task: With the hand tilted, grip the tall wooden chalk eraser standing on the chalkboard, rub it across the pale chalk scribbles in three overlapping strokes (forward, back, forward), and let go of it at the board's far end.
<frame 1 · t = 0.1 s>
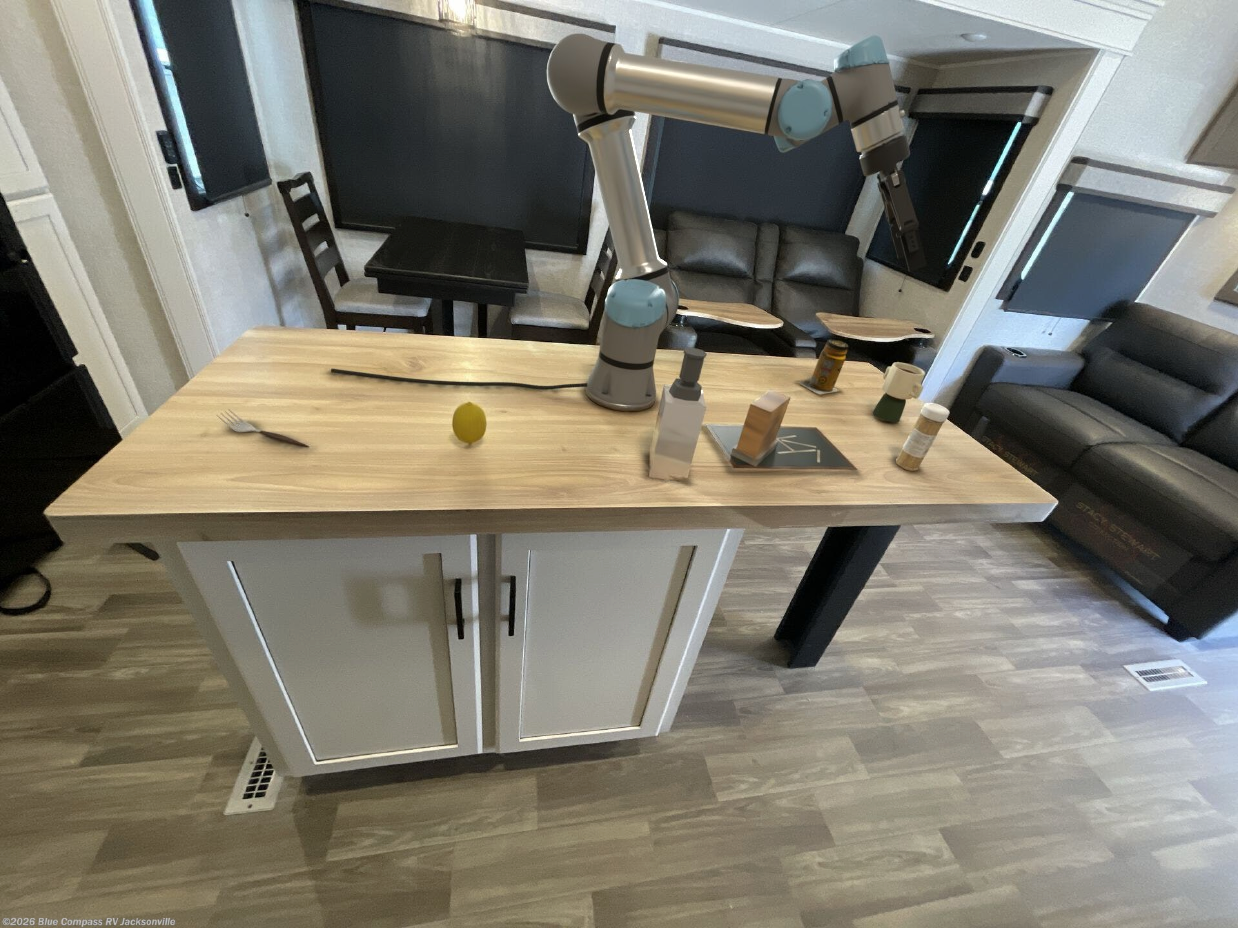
hand: (911, 262, 99), 36 cm above the table, tool tilted 35°, fingers open, 13 cm apart
chalkboard: (777, 450, 105), on the table
eraser: (753, 451, 101), point 1 cm above the table, touching chalkboard
fork: (267, 437, 84), on the table
condiment: (818, 387, 137), on the table
cream and green goblet: (884, 419, 126), on the table
soap dispenser: (666, 466, 95), on the table
lemon: (469, 444, 91), on the table
sprinkles bottle: (905, 466, 108), on the table
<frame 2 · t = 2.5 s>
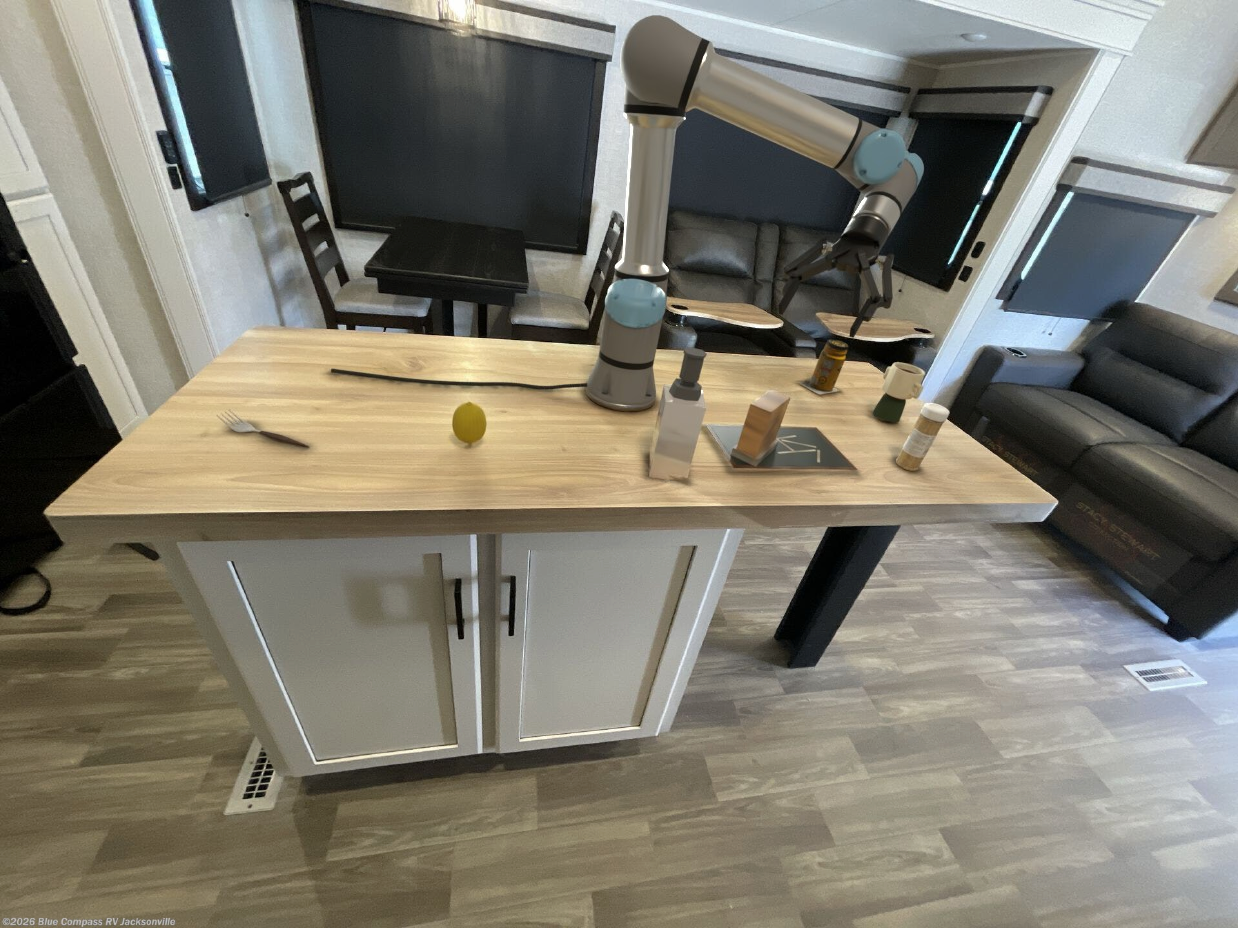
hand: (814, 321, 96), 25 cm above the table, tool tilted 45°, fingers open, 13 cm apart
nothing on the table moved.
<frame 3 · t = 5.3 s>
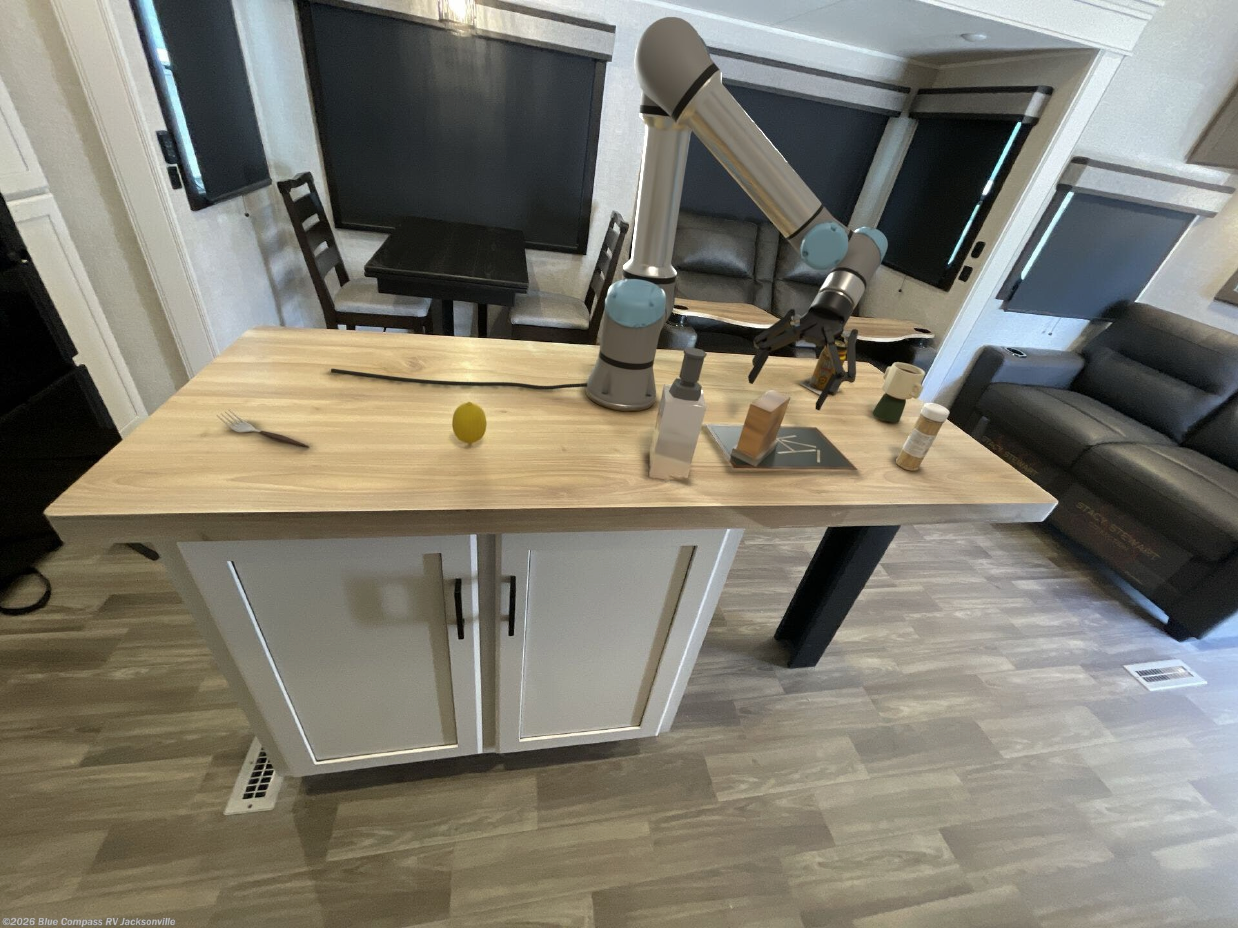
hand: (782, 393, 100), 12 cm above the table, tool tilted 45°, fingers open, 13 cm apart
nothing on the table moved.
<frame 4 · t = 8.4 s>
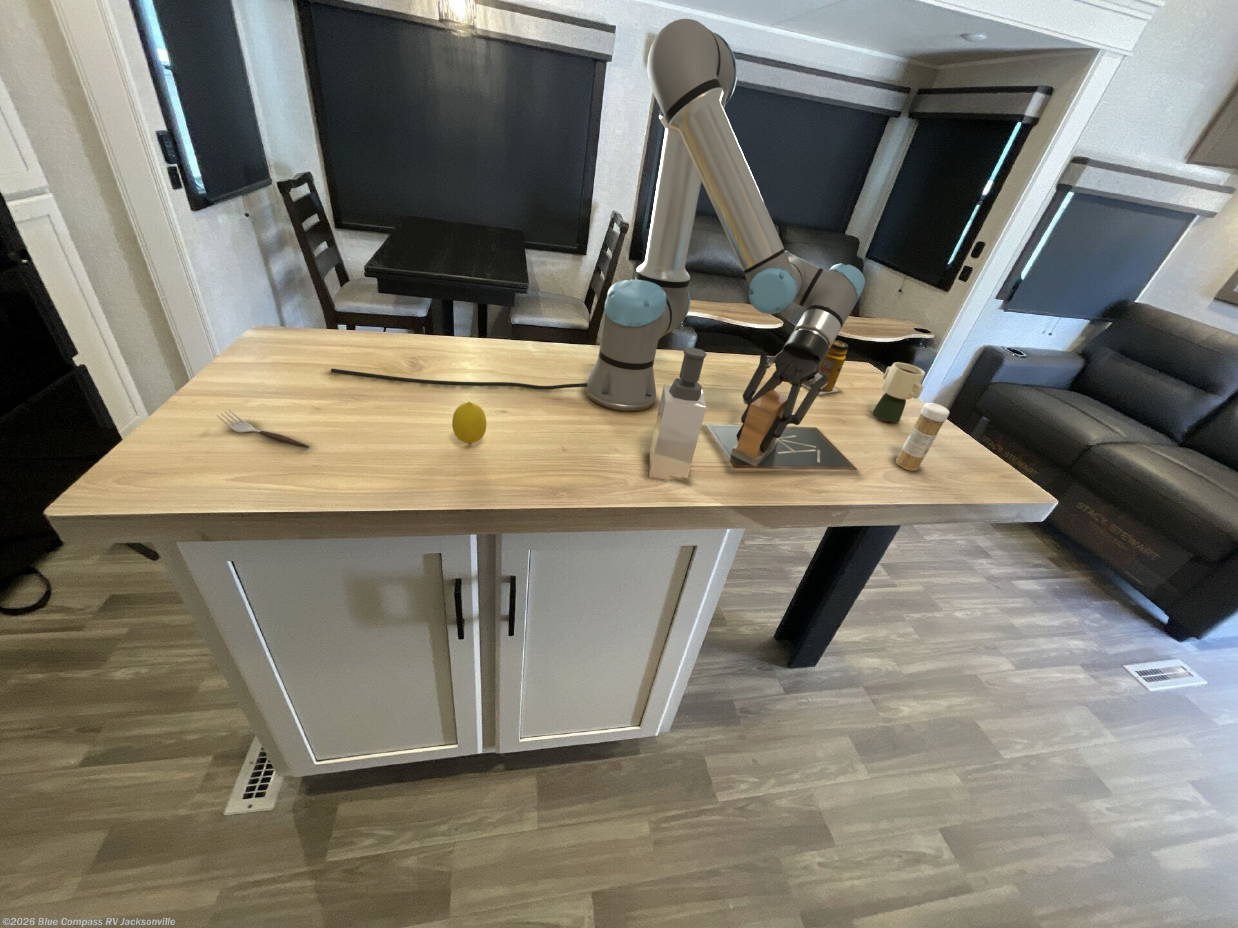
hand: (750, 444, 97), 4 cm above the table, tool tilted 45°, fingers closed on eraser, 4 cm apart
eraser: (753, 451, 101), point 1 cm above the table, touching chalkboard, gripper
everything else where it was.
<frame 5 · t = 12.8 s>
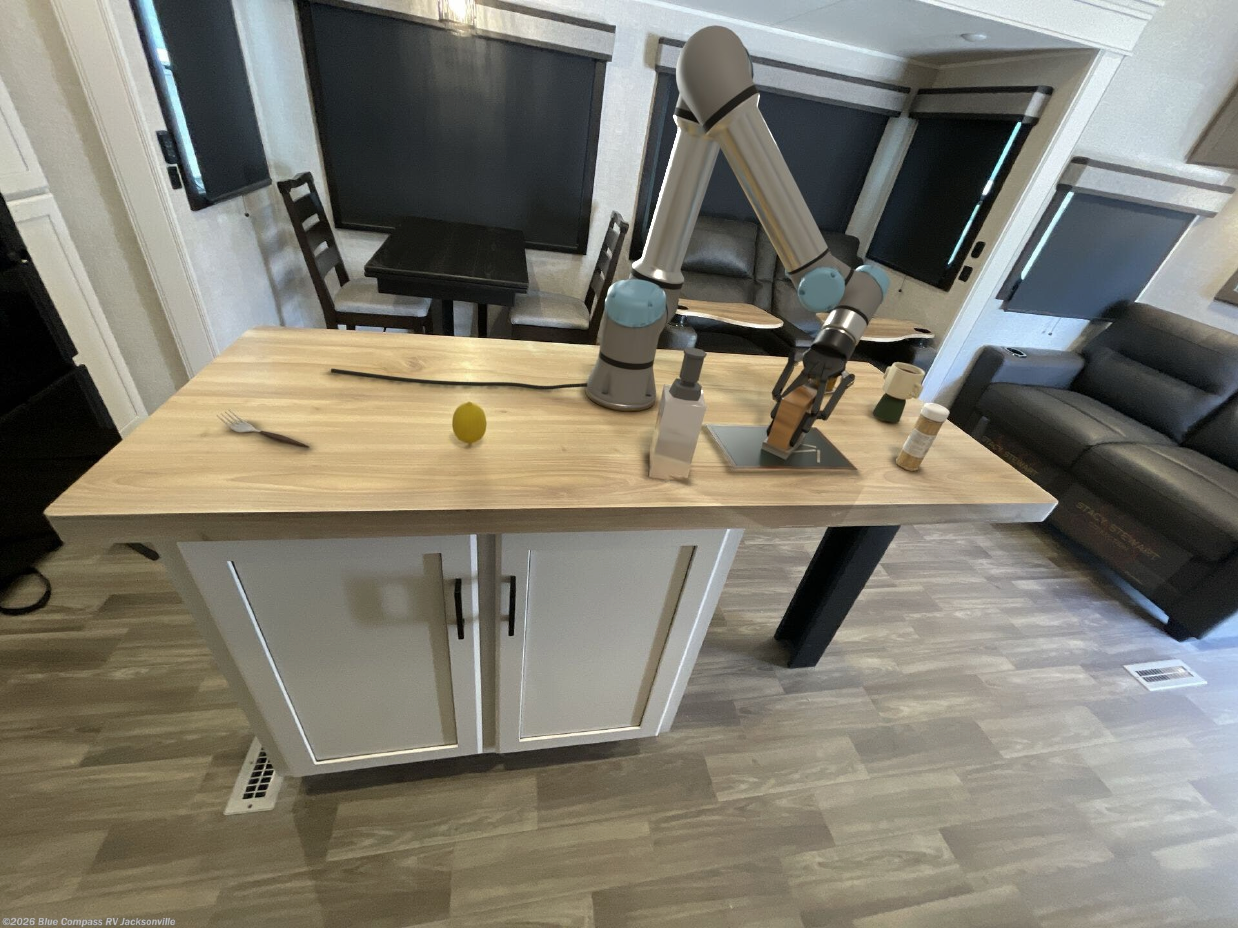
hand: (780, 438, 101), 4 cm above the table, tool tilted 45°, fingers closed on eraser, 4 cm apart
eraser: (782, 445, 105), point 1 cm above the table, touching gripper
everything else where it was.
when the fingers open (4 cm above the table, at t = 17.5 s): eraser stays where it is, resting on chalkboard.
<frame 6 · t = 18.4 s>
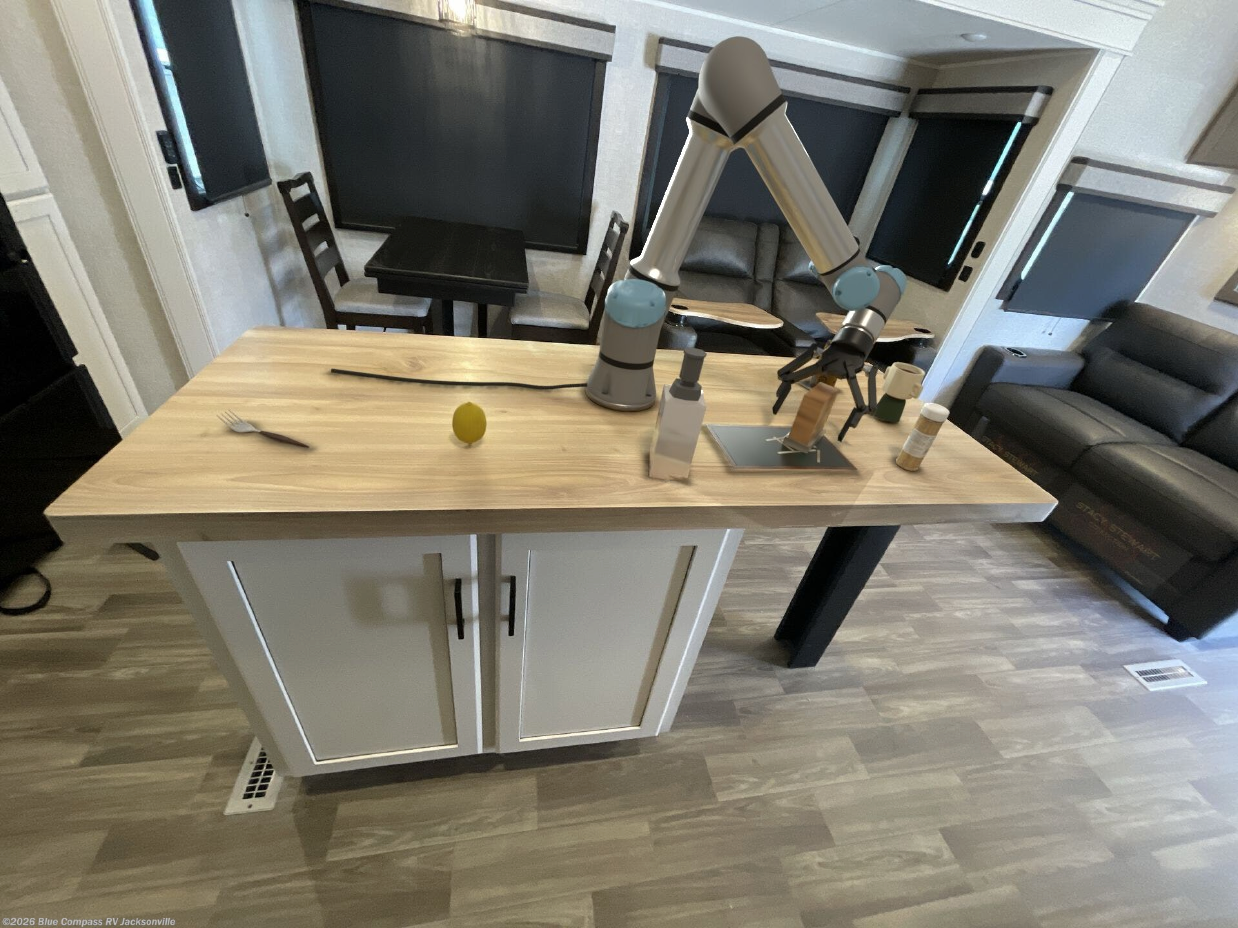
hand: (805, 425, 104), 5 cm above the table, tool tilted 45°, fingers open, 13 cm apart
eraser: (802, 440, 108), point 1 cm above the table, touching chalkboard
everything else where it was.
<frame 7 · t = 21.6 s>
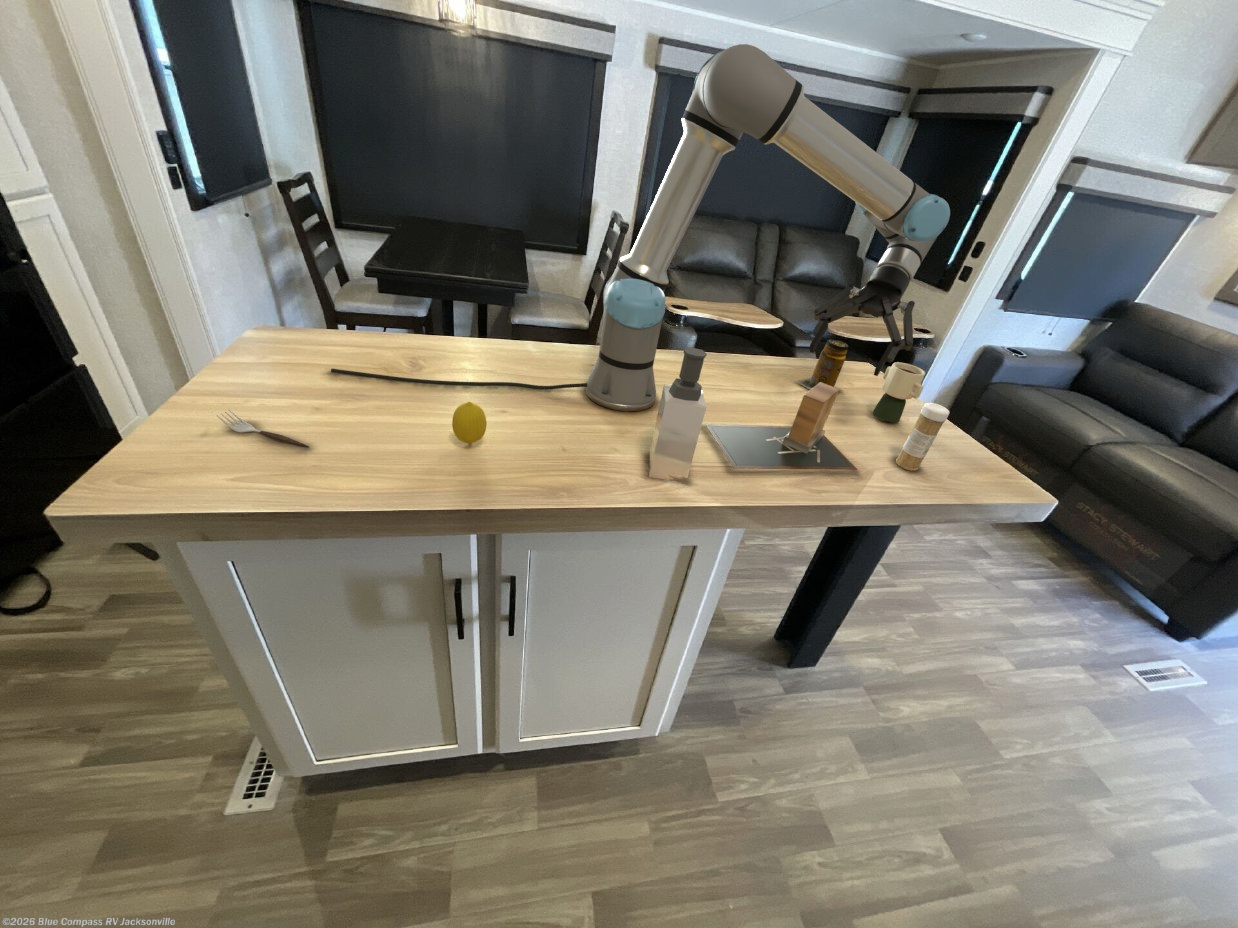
hand: (842, 360, 108), 16 cm above the table, tool tilted 45°, fingers open, 13 cm apart
nothing on the table moved.
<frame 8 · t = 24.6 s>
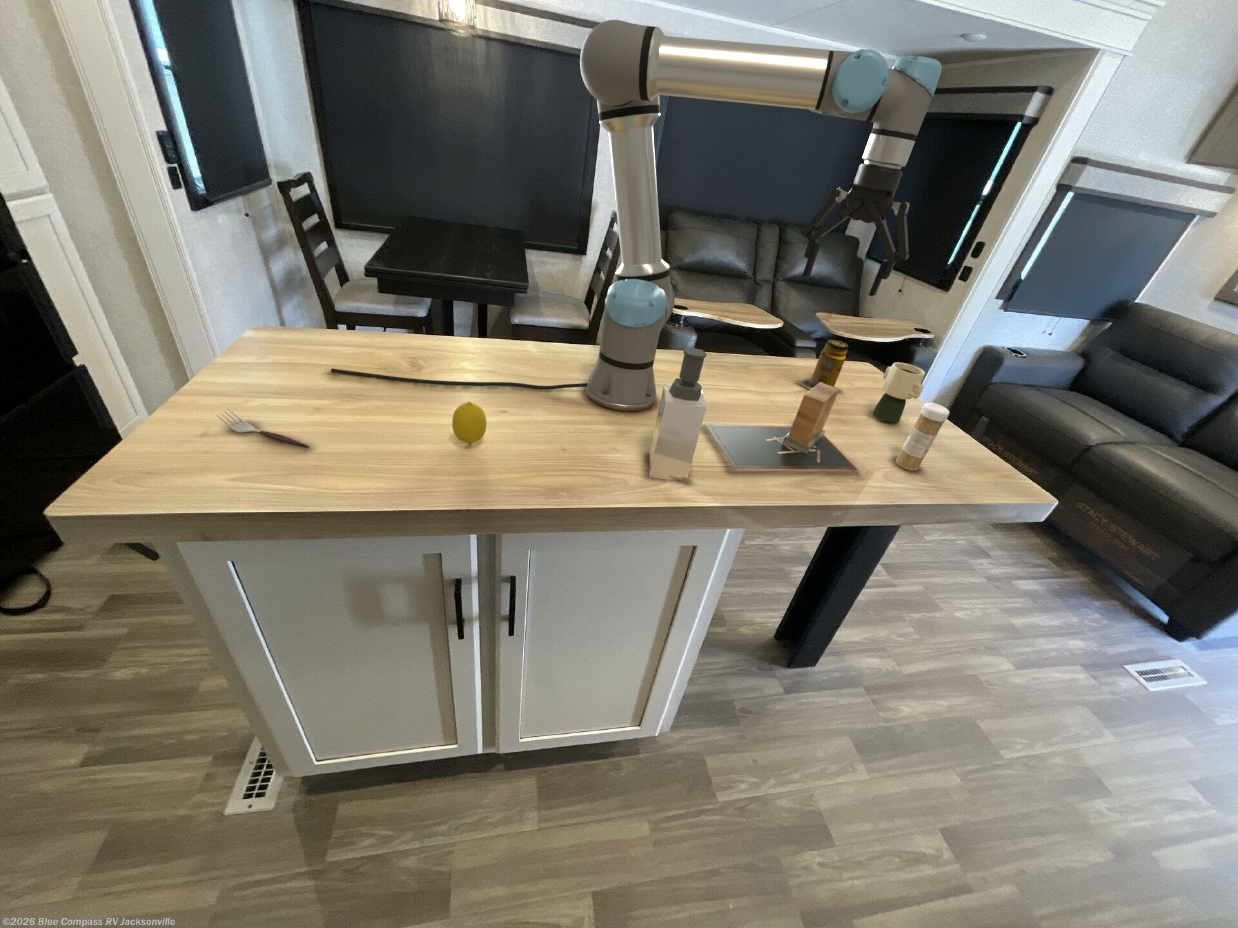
hand: (838, 285, 106), 29 cm above the table, tool pointing down, fingers open, 13 cm apart
nothing on the table moved.
at the end: eraser inside the target area (0.2 cm from its centre), point 1.0 cm above the table; eraser tilted 0°; the gripper is holding nothing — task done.
